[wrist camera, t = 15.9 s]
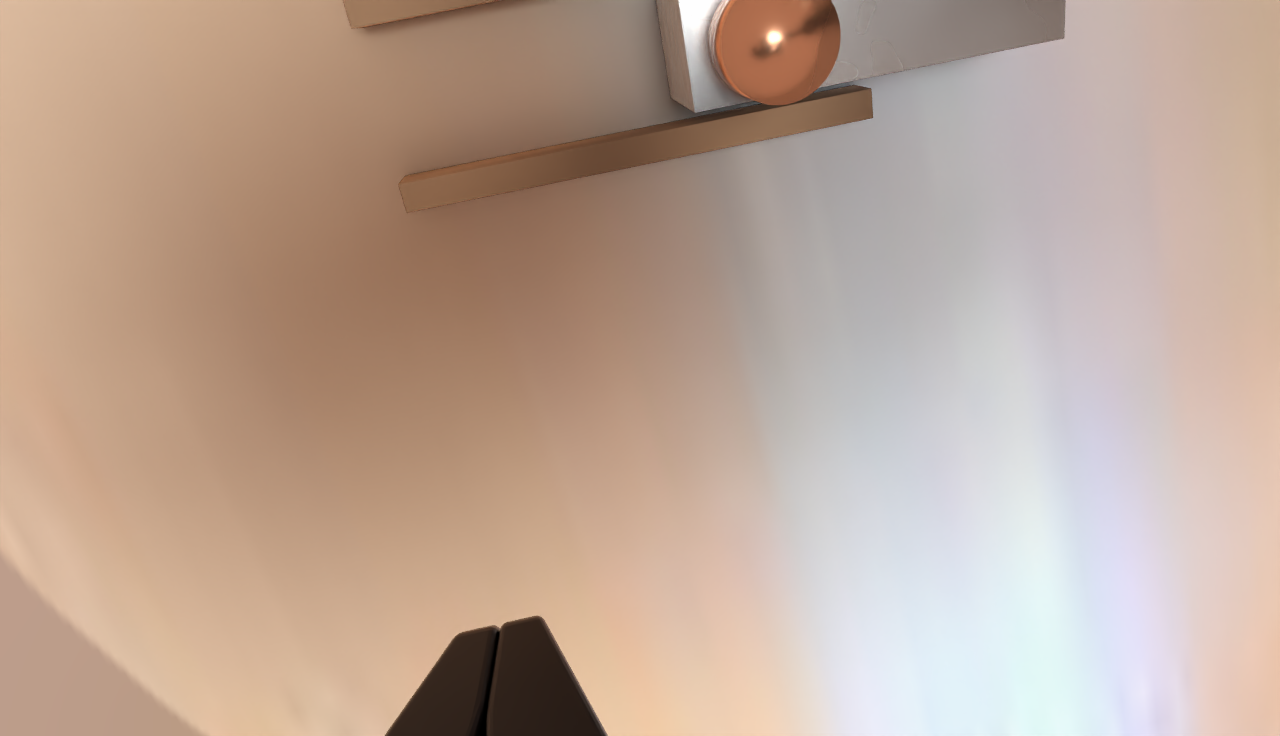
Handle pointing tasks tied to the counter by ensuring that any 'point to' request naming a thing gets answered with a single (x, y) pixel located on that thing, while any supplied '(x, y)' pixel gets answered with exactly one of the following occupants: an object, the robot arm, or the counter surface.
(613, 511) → the counter surface
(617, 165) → the dock cradle
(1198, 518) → the counter surface
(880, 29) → the pin
